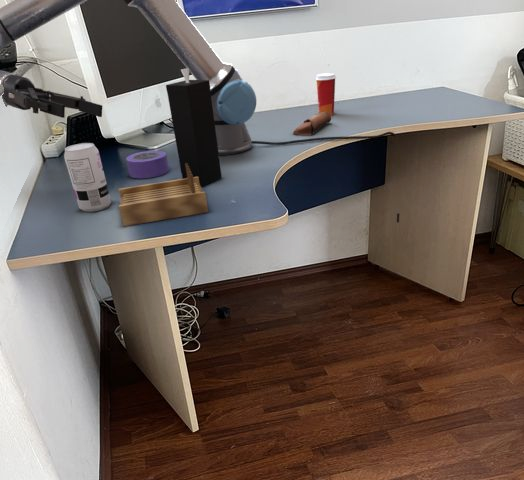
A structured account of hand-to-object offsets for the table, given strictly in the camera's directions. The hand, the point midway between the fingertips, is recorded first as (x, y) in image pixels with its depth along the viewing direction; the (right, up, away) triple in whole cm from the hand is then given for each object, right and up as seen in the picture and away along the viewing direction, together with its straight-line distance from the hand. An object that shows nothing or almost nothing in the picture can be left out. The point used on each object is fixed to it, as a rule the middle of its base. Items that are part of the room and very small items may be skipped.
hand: (83, 111), depth 126 cm
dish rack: (+19, -23, +3) cm, 30 cm away
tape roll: (+9, -4, +32) cm, 33 cm away
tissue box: (+27, -11, +20) cm, 35 cm away
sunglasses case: (+61, +21, +60) cm, 88 cm away
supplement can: (0, -21, +9) cm, 23 cm away
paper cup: (+68, +34, +78) cm, 109 cm away
